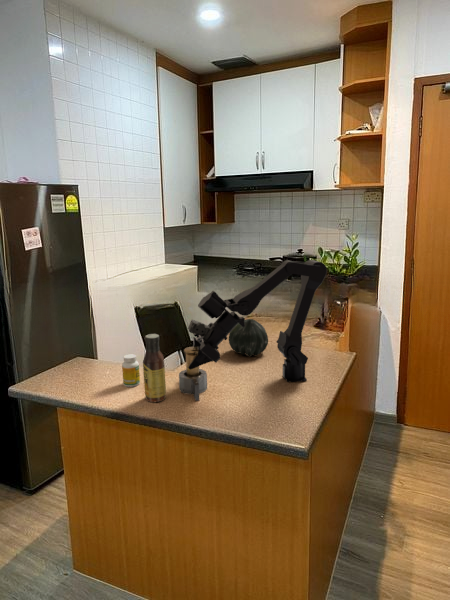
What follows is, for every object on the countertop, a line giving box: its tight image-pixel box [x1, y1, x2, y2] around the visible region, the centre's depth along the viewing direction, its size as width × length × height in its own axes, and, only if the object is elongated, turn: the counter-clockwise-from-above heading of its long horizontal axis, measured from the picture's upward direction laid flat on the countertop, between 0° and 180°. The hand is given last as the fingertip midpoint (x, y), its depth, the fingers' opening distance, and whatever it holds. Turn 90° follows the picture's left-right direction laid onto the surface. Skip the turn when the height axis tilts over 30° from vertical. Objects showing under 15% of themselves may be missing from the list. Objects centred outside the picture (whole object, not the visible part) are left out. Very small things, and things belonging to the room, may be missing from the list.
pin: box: [183, 346, 200, 377], centre depth 138 cm, size 5×5×13 cm
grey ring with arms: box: [178, 368, 208, 402], centre depth 139 cm, size 18×8×5 cm, turn 11°
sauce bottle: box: [142, 333, 167, 403], centre depth 130 cm, size 7×6×20 cm
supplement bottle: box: [121, 353, 141, 388], centre depth 143 cm, size 5×5×10 cm
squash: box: [228, 318, 269, 357], centre depth 170 cm, size 14×15×15 cm
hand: (187, 364), depth 137 cm, fingers open, 6 cm apart
